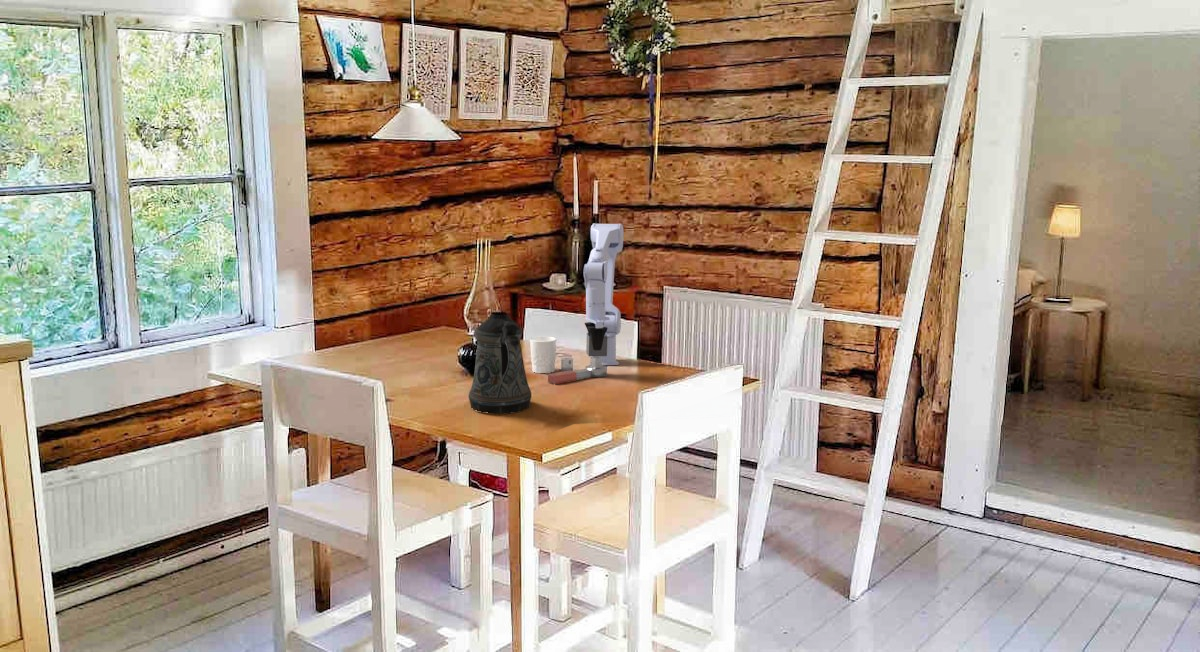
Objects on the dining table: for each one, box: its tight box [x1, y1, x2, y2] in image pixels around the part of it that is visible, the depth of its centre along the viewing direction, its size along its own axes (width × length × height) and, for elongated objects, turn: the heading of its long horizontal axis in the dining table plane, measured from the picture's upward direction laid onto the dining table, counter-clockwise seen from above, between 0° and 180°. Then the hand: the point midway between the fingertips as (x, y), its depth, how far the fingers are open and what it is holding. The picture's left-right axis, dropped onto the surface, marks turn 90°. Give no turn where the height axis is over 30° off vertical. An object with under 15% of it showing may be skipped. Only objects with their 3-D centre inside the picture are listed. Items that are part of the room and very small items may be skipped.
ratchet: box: [547, 356, 608, 385], centre depth 293 cm, size 20×6×6 cm, turn 129°
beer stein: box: [468, 311, 532, 414], centre depth 260 cm, size 16×19×25 cm
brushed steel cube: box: [585, 332, 607, 357], centre depth 296 cm, size 5×5×6 cm
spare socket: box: [560, 357, 574, 372], centre depth 302 cm, size 4×4×4 cm
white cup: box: [529, 336, 557, 374], centre depth 303 cm, size 8×8×10 cm
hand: (595, 348), depth 296 cm, fingers closed on brushed steel cube, 5 cm apart
